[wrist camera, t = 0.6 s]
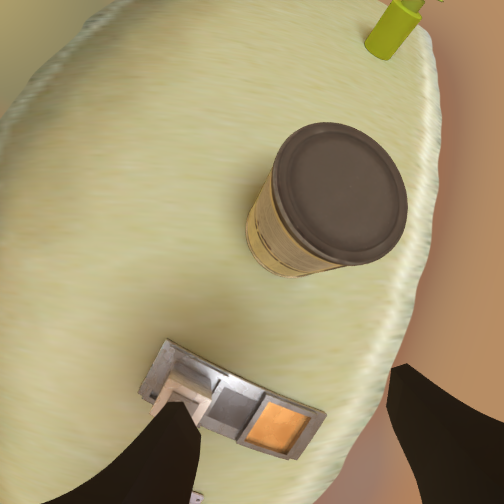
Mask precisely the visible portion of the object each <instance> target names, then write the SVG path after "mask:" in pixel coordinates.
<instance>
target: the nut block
mask: <svg viewBox="0 0 504 504" xmlns="http://www.w3.org/2000/svg"><path fill="white" fill-rule="evenodd" d="M182 401H183V402H184V404H185V406H186V408H187V410H188V412H189V414H190V416H191V417H192V419H193V421H194V423H195V425H196V426H197V425H198V423H199V421H200V420H201V418H202V416H203V415H204V413H205V411H206V410H207V408H208V406H209V405H210V403H211V401H212V390H211V380H210V379H208V378H206V377H204V376H202V375H200V374H198V373H196V372H195V371H193V370H191V369H189V368H187V367H185V366H183V365H182V364H180V363H178V362H176V363H175V365H174V367H173V368H172V370H171V372H170V374H169V376H168V378H167V379H166V381H165V383H164V385H163V387H162V389H161V390H160V392H159V394H158V396H157V398H156V401H155V403H154V405H153V407H152V409H151V411H150V413H149V414H150V415H152V416H154V417H155V416H156V415H157V414H158V412H159V411H160V410H161V409H162V408H163V407H164V405H165V404H166V403H167V402H182Z"/></svg>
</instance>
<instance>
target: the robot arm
mask: <svg viewBox="0 0 504 504" xmlns="http://www.w3.org/2000/svg"><path fill="white" fill-rule="evenodd" d="M386 407H387V411H388V414H389V417H390V420H391V423H392V427H393V429H394V432H395V434H396V436H397V438H398V440H399V443H400V445H401V447H402V449H403V451H404V453H405V456H406V458H407V460H408V462H409V464H410V466H411V469H412V471H413V473H414V476H415V478H416V481H417V485H418V488H419V492H420V496H421V499H422V504H504V423H503V422H501V421H498V420H496V419H493V418H491V417H489V416H487V415H485V414H482V413H480V412H478V411H477V410H475V409H473V408H471V407H469V406H468V405H466V404H464V403H463V402H461V401H459V400H458V399H456V398H455V397H453V396H451V395H450V394H449V393H447V392H445V391H444V390H443V389H441V388H440V387H438V386H437V385H436V384H434V383H433V382H432V381H430V380H429V379H427V378H426V377H425V376H423V375H422V374H421V373H419V372H418V371H416V370H415V369H414V368H413V367H411V366H410V365H408V364H407V363H406V364H403V365H400V366H397V367H394V368H391V376H390V384H389V391H388V398H387V404H386ZM200 444H201V434H200V432H199V430H198V429H197V427H196V425H195V423H194V421H193V419H192V417H191V416H190V414H189V412H188V410H187V408H186V406H185V404H184V402H183V401H182V402H167V403H166V404H165V405H164V407H163V408H162V409H161V410H160V411H159V412H158V414H157V415H156V416H155V417H154V418H153V420H152V421H151V422H150V423H149V424H148V425H147V427H146V428H145V429H144V430H143V431H142V432H141V433H140V434H139V436H138V437H137V438H136V439H135V440H134V441H133V442H132V443H131V444H130V445H129V446H128V447H127V448H126V449H125V450H124V451H123V452H122V453H121V454H120V455H119V456H118V457H117V458H116V459H115V460H114V461H113V462H112V463H110V464H109V465H108V466H107V467H106V468H105V469H103V470H102V471H101V472H99V473H98V474H97V475H95V476H94V477H93V478H91V479H90V480H88V481H87V482H85V483H83V484H82V485H80V486H79V487H77V488H75V489H74V490H72V491H70V492H68V493H66V494H64V495H62V496H60V497H57V498H55V499H53V500H50V501H48V502H45V503H42V504H200V503H201V501H202V500H203V499H204V496H203V495H201V494H199V493H196V492H193V491H192V489H193V485H194V480H195V476H196V472H197V467H198V462H199V456H200ZM197 499H199V500H197Z"/></svg>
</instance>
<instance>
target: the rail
mask: <svg viewBox="0 0 504 504" xmlns="http://www.w3.org/2000/svg"><path fill="white" fill-rule="evenodd" d="M176 362H178V363H180V364H182V365H183V366H185V367H187V368H189V369H191V370H193V371H195V372H196V373H198V374H200V375H202V376H204V377H206V378H208V379H210V380H211V390H212V401H211V403H210V405H209V406H208V408H207V410H206V411H205V413H204V415H203V416H202V418H201V420H200V421H199V423H198V425H197V426H196V427H198V428H200V426H202V427H204V428H207V429H209V430H211V431H214V432H216V433H218V434H221V435H223V436H226V437H228V438H231V439H233V440H236V443H237V444H240V445H243V446H245V447H248V448H251V449H254V450H257V451H260V452H263V453H266V454H269V455H272V456H276V457H279V458H282V459H286V460H289V459H290V458H291V459H294V460H297V459H298V458H299V457H300V455H301V454H302V452H303V451H304V450H305V448H306V447H307V445H308V444H309V442H310V441H311V439H312V438H313V436H314V435H315V433H316V432H317V430H318V429H319V427H320V426H321V424H322V423H323V421H324V419H325V418H326V416H327V414H326V413H325V412H323V411H321V410H318V409H315V408H312V407H310V406H307V405H304V404H302V403H299V402H297V401H294V400H292V399H289V398H287V397H284V396H282V395H280V394H277V393H275V392H273V391H270V390H268V389H266V388H263V387H261V386H259V385H257V384H254V383H252V382H250V381H248V380H246V379H244V378H241V377H239V376H237V375H235V374H233V373H231V372H229V371H227V370H225V369H223V368H221V367H219V366H217V365H215V364H213V363H211V362H209V361H207V360H205V359H204V358H202V357H200V356H198V355H196V354H194V353H192V352H191V351H189V350H187V349H185V348H183V347H182V346H180V345H178V344H176V343H175V342H173V341H171V340H169V339H168V338H167V339H166V340H165V342H164V344H163V345H162V347H161V349H160V351H159V353H158V355H157V357H156V358H155V360H154V362H153V364H152V366H151V368H150V370H149V372H148V374H147V376H146V377H145V379H144V381H143V383H142V385H141V387H140V389H139V391H138V394H140V395H142V399H144V400H145V401H147V402H149V403H151V404H153V405H154V403H155V401H156V398H157V396H158V394H159V392H160V390H161V389H162V387H163V385H164V383H165V381H166V379H167V378H168V376H169V374H170V372H171V370H172V368H173V367H174V365H175V363H176Z"/></svg>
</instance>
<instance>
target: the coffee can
mask: <svg viewBox="0 0 504 504" xmlns="http://www.w3.org/2000/svg"><path fill="white" fill-rule="evenodd" d="M407 211H408V203H407V194H406V189H405V186H404V182H403V180H402V177H401V175H400V173H399V171H398V169H397V167H396V165H395V163H394V162H393V160H392V159H391V157H390V156H389V155H388V153H387V152H386V151H385V150H384V149H383V148H382V147H381V146H380V145H379V144H378V143H377V142H376V141H374V140H373V139H372V138H371V137H369V136H368V135H366V134H364V133H363V132H361V131H359V130H357V129H355V128H353V127H350V126H347V125H343V124H339V123H332V122H321V123H314V124H310V125H307V126H305V127H303V128H301V129H299V130H297V131H295V132H294V133H293V134H291V135H290V136H289V137H288V138H287V139H286V140H285V142H284V143H283V145H282V146H281V148H280V149H279V151H278V153H277V156H276V158H275V161H274V164H273V167H272V169H271V171H270V173H269V175H268V177H267V179H266V181H265V183H264V186H263V188H262V190H261V191H260V194H259V196H258V198H257V200H256V202H255V204H254V205H253V207H252V208H251V210H250V212H249V215H248V218H247V222H246V238H247V243H248V246H249V249H250V251H251V252H252V254H253V256H254V257H255V259H256V260H257V261H258V262H259V264H261V265H262V266H263V267H264V268H265V269H267V270H268V271H270V272H272V273H273V274H275V275H279V276H282V277H287V278H298V277H303V276H306V275H309V274H314V273H319V272H324V271H328V270H333V269H337V268H341V267H346V266H357V265H363V264H368V263H371V262H374V261H376V260H378V259H380V258H382V257H384V256H385V255H386V254H387V253H389V252H390V251H391V250H392V249H393V248H394V247H395V245H396V244H397V243H398V241H399V239H400V238H401V236H402V234H403V231H404V228H405V224H406V220H407Z"/></svg>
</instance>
